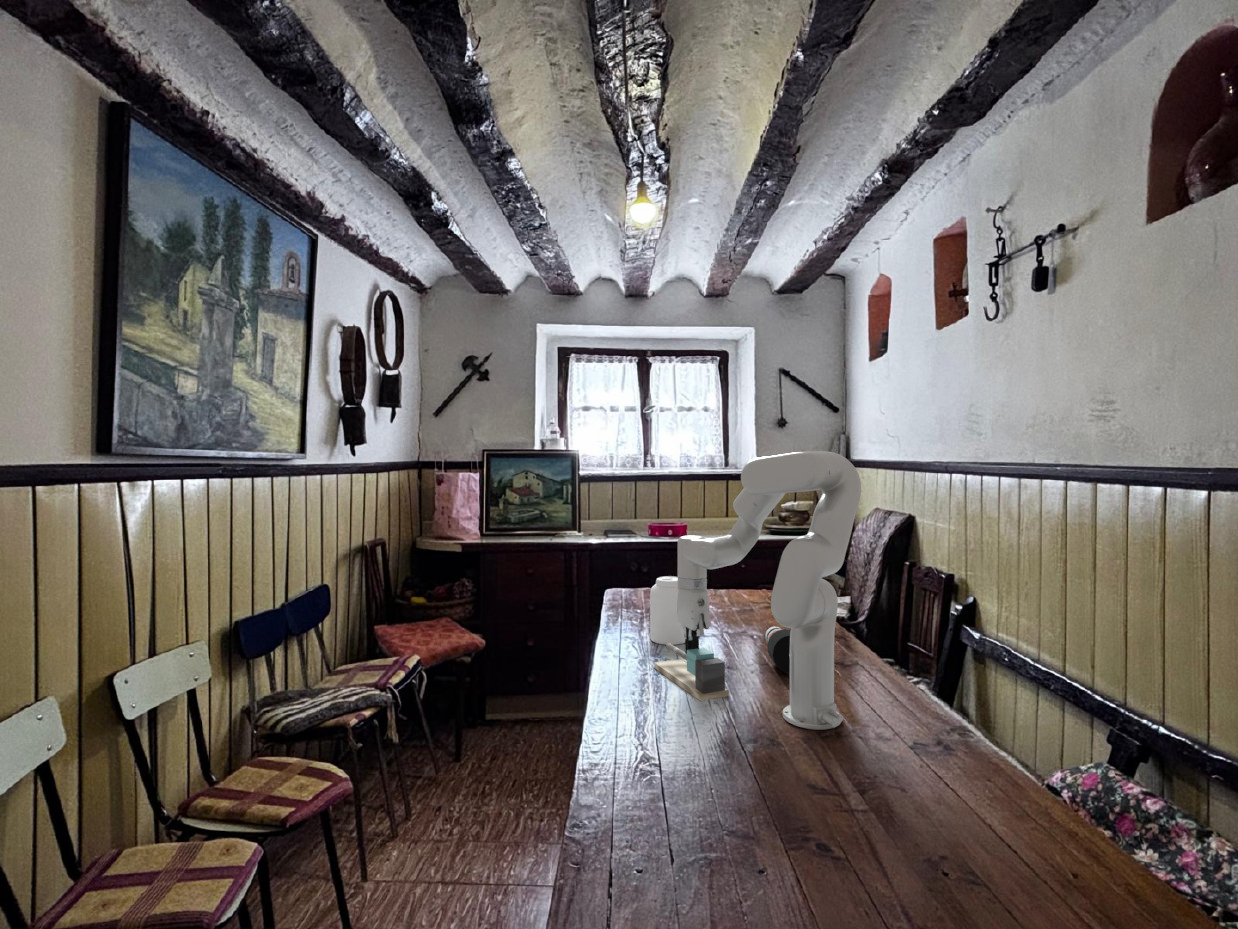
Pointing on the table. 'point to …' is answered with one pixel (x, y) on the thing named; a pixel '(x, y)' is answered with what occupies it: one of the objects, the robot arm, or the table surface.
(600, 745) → the table surface
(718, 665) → the wooden slide rail
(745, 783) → the table surface
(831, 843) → the table surface
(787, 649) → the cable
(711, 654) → the sleeve
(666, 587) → the white jar
